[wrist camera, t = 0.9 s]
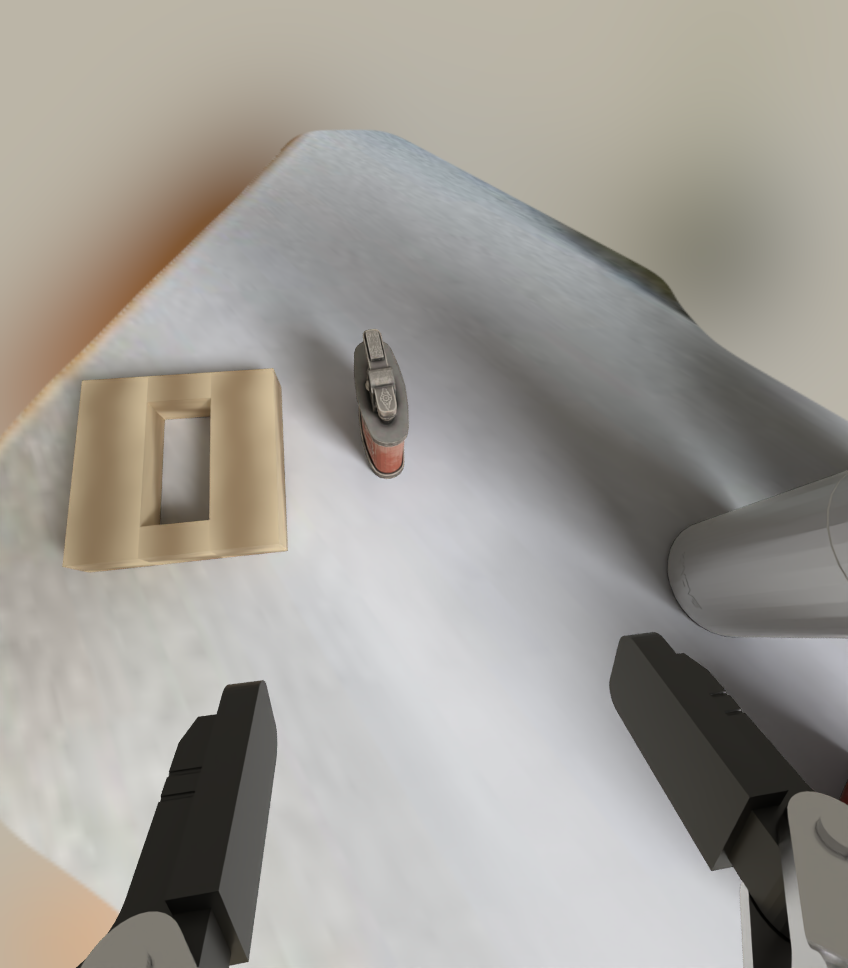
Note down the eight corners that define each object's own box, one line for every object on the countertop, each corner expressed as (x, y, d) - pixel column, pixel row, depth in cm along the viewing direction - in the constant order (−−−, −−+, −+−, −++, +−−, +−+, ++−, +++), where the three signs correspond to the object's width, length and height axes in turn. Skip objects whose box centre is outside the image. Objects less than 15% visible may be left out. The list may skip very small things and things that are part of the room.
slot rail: (281, 387, 39) (273, 368, 36) (287, 550, 35) (279, 543, 32) (104, 399, 38) (81, 380, 35) (89, 572, 33) (62, 566, 31)
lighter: (411, 474, 38) (420, 421, 28) (370, 482, 37) (365, 430, 28) (391, 388, 40) (394, 312, 31) (352, 394, 40) (343, 319, 30)
